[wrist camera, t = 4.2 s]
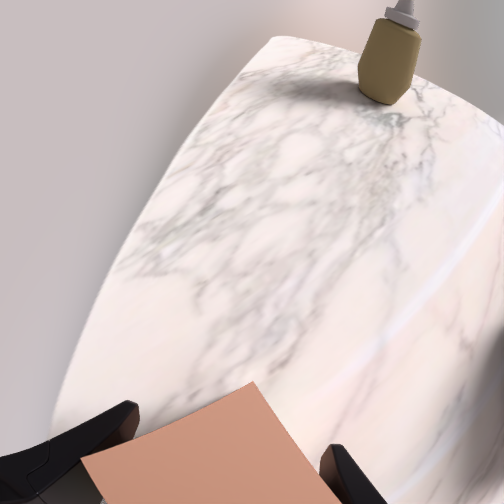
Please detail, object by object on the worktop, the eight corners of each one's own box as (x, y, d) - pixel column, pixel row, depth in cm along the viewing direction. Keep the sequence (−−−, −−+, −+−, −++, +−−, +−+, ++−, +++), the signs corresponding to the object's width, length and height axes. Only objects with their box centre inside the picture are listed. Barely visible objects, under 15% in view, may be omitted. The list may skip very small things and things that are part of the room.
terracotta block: (213, 493, 11) (188, 593, 2) (170, 429, 13) (80, 458, 4) (285, 457, 12) (357, 522, 4) (241, 393, 14) (253, 380, 5)
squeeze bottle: (358, 77, 37) (383, -17, 21) (404, 99, 35) (438, 5, 19) (345, 91, 33) (373, -22, 18) (398, 116, 31) (440, 5, 16)
